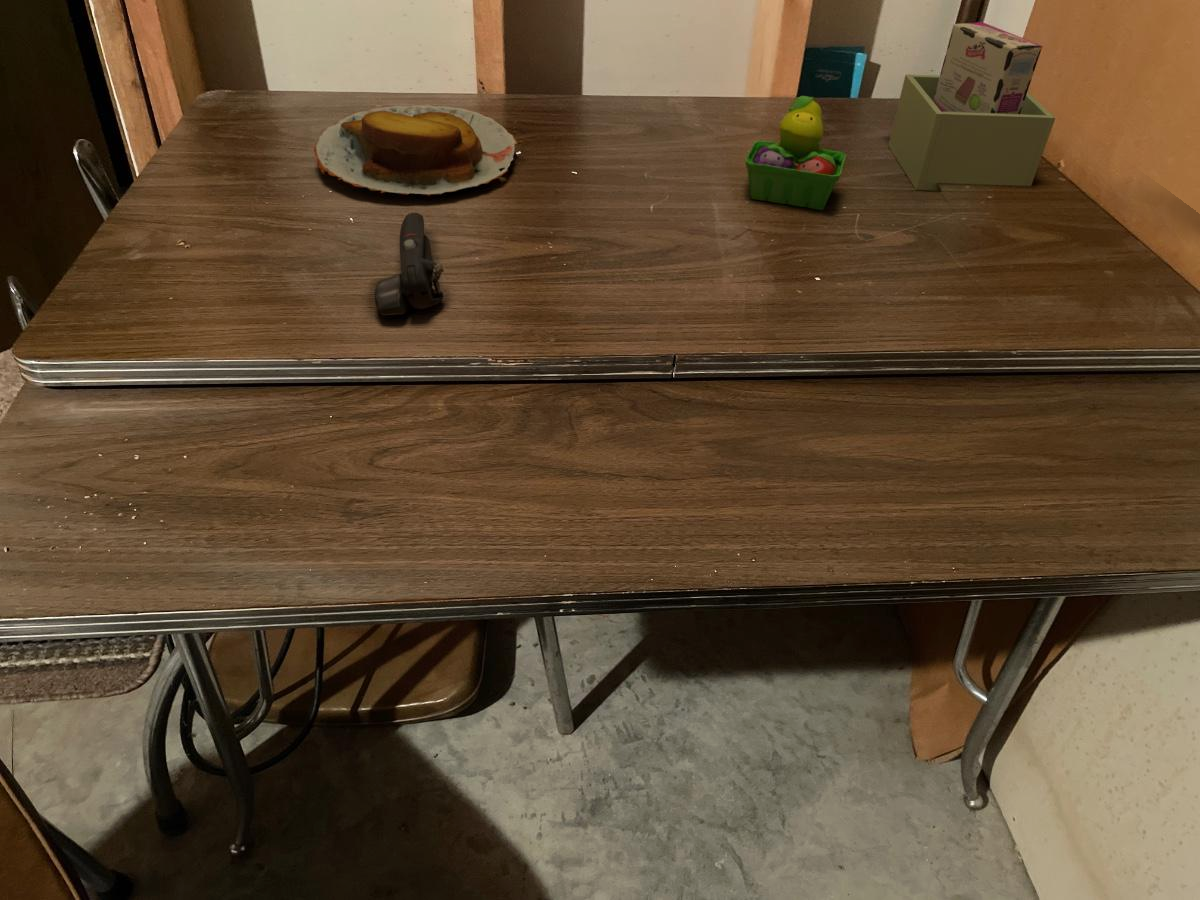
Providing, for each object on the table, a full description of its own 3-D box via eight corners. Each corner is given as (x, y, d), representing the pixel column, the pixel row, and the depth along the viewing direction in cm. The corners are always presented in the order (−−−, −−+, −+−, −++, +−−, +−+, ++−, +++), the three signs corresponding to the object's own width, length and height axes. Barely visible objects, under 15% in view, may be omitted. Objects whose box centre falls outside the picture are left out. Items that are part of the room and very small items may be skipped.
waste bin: (990, 149, 128) (1013, 78, 122) (1028, 194, 117) (1055, 117, 111) (887, 146, 128) (905, 74, 122) (915, 190, 117) (936, 113, 111)
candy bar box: (1001, 177, 119) (1045, 45, 108) (970, 182, 117) (1012, 48, 107) (947, 145, 127) (983, 19, 116) (917, 149, 125) (951, 22, 115)
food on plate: (513, 126, 128) (512, 78, 124) (523, 204, 110) (522, 150, 105) (328, 127, 125) (320, 78, 121) (305, 207, 107) (295, 152, 102)
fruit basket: (738, 201, 112) (751, 109, 105) (751, 174, 119) (764, 85, 112) (831, 217, 110) (851, 123, 103) (839, 188, 116) (859, 98, 109)
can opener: (446, 325, 88) (442, 273, 85) (372, 327, 88) (365, 274, 84) (451, 240, 102) (448, 192, 98) (388, 240, 101) (382, 192, 98)
